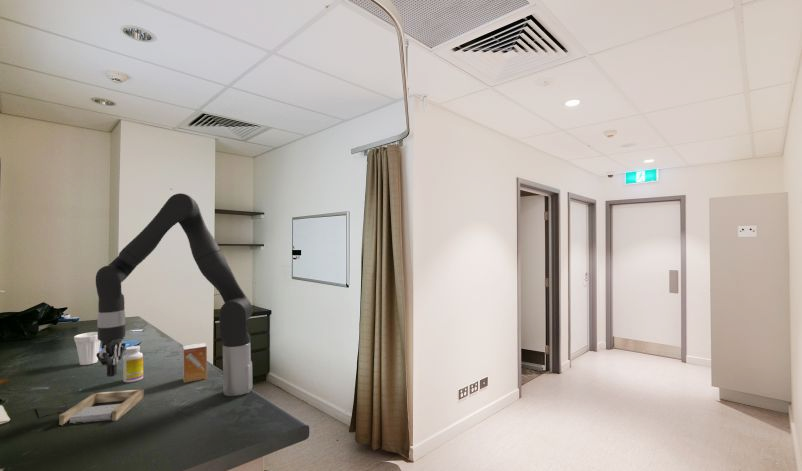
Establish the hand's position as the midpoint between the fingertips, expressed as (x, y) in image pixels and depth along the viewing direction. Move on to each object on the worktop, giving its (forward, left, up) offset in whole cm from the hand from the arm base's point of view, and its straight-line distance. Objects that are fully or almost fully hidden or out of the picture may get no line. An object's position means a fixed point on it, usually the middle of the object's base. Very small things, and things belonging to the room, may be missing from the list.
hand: (111, 375), depth 130 cm
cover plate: (0, +9, -10) cm, 13 cm away
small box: (-19, -20, -10) cm, 29 cm away
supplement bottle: (+5, -24, -10) cm, 26 cm away
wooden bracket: (0, +5, -10) cm, 11 cm away
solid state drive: (+18, 0, -10) cm, 21 cm away
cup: (+36, -51, -10) cm, 63 cm away
